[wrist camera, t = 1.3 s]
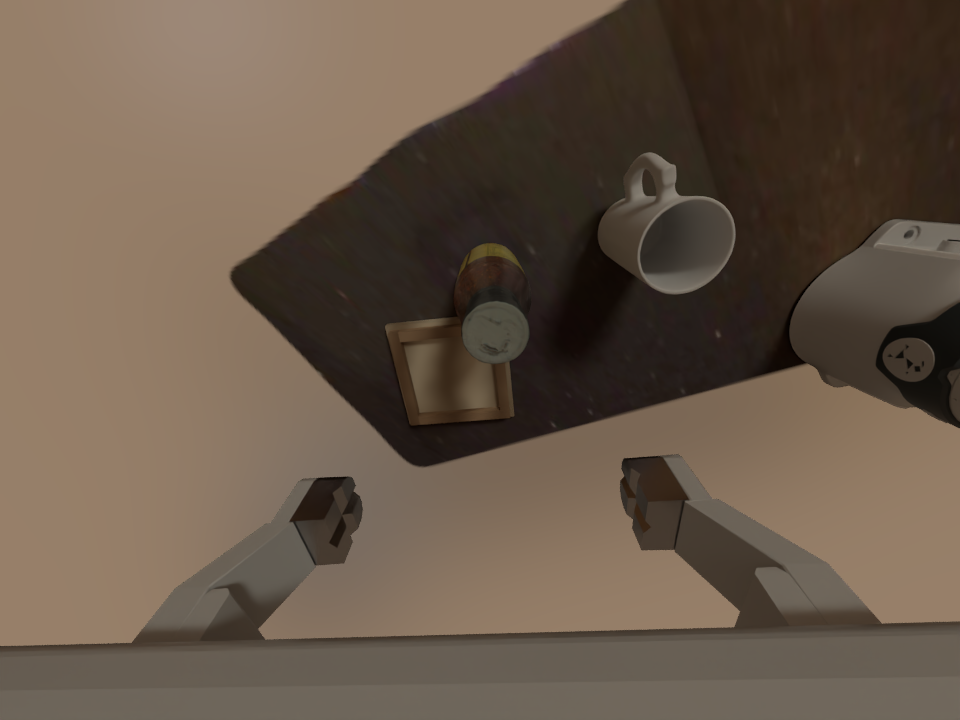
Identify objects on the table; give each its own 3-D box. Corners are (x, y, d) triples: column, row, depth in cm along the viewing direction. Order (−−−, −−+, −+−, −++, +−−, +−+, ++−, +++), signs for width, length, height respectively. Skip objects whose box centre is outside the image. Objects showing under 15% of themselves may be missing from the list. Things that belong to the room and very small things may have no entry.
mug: (665, 251, 36) (737, 277, 26) (601, 272, 38) (644, 306, 27) (652, 145, 32) (731, 124, 22) (581, 173, 34) (622, 167, 23)
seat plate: (504, 311, 40) (505, 317, 38) (513, 411, 46) (514, 420, 44) (387, 323, 41) (382, 330, 39) (411, 419, 47) (408, 428, 46)
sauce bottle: (487, 308, 40) (481, 405, 22) (450, 266, 38) (411, 336, 20) (532, 271, 38) (567, 346, 20) (496, 225, 36) (499, 262, 18)
